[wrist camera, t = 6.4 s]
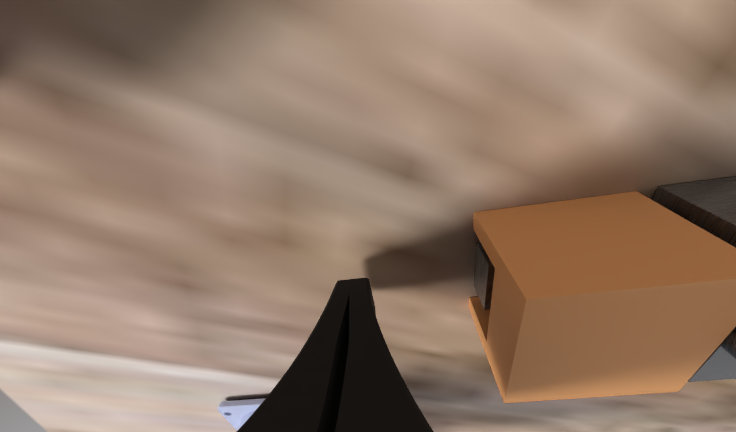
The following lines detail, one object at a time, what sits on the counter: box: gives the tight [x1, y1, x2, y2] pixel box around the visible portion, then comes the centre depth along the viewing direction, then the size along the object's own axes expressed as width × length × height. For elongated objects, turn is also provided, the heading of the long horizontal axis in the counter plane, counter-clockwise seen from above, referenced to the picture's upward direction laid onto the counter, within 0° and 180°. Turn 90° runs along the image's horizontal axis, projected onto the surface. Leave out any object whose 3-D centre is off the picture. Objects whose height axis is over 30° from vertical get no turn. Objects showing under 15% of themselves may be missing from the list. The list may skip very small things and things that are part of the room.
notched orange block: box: [469, 191, 736, 403], centre depth 10 cm, size 6×6×4 cm
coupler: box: [474, 177, 736, 382], centre depth 10 cm, size 6×10×5 cm, turn 99°
